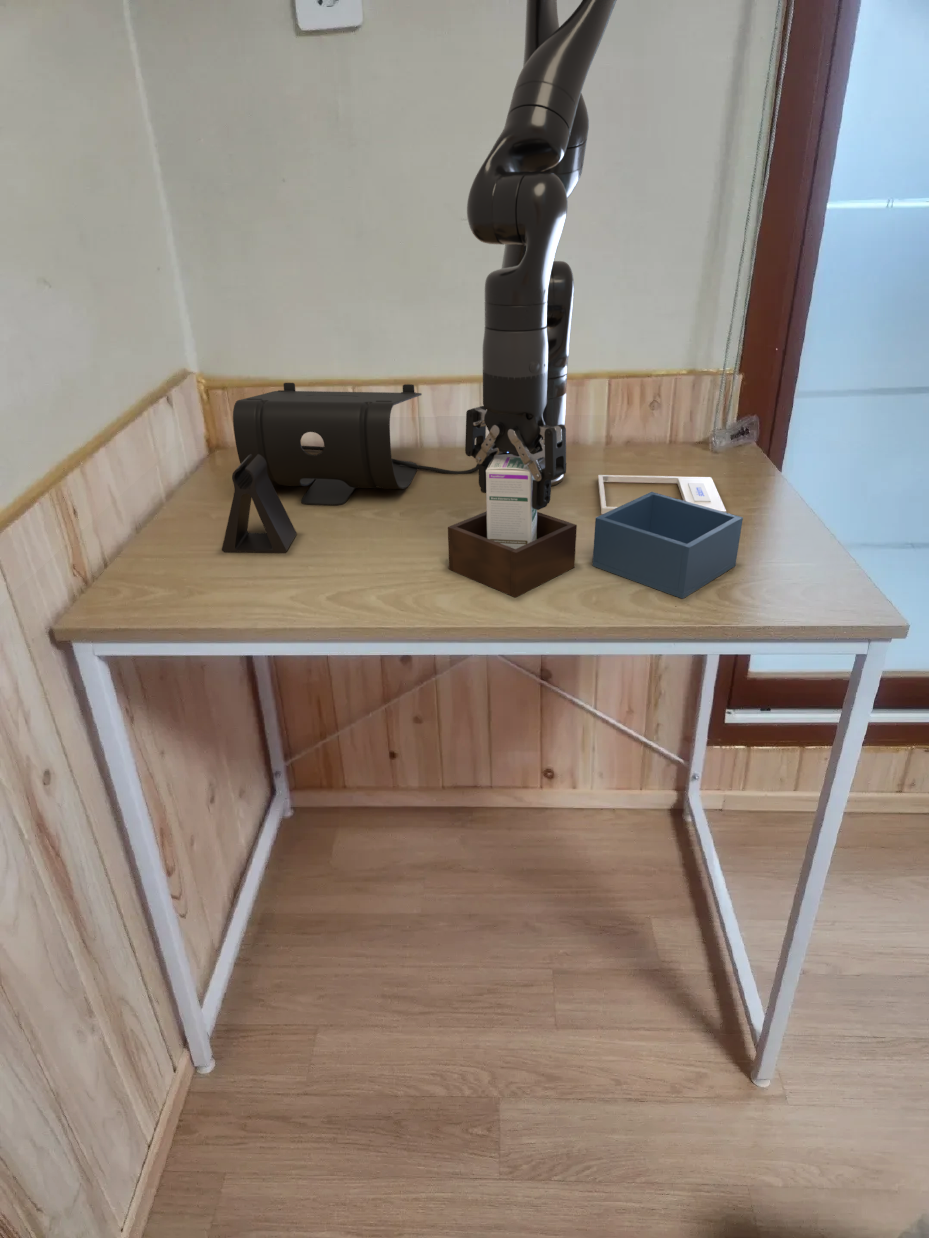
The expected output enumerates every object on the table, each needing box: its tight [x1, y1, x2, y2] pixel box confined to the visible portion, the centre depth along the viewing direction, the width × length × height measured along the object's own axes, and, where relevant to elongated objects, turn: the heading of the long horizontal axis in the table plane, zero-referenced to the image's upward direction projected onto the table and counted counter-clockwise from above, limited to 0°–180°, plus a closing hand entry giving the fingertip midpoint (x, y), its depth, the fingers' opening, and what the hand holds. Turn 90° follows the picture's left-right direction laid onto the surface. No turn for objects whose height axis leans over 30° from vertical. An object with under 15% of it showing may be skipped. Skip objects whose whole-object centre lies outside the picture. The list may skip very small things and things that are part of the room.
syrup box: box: [485, 454, 538, 549], centre depth 106 cm, size 6×6×14 cm
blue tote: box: [591, 491, 744, 600], centre depth 108 cm, size 14×13×7 cm
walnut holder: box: [447, 511, 578, 598], centre depth 108 cm, size 12×12×6 cm
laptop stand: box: [232, 382, 422, 506], centre depth 136 cm, size 26×24×16 cm
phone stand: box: [221, 454, 298, 554], centre depth 115 cm, size 9×6×12 cm, turn 86°
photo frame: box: [597, 474, 727, 515], centre depth 131 cm, size 15×1×18 cm
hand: (513, 499), depth 105 cm, fingers open, 8 cm apart
